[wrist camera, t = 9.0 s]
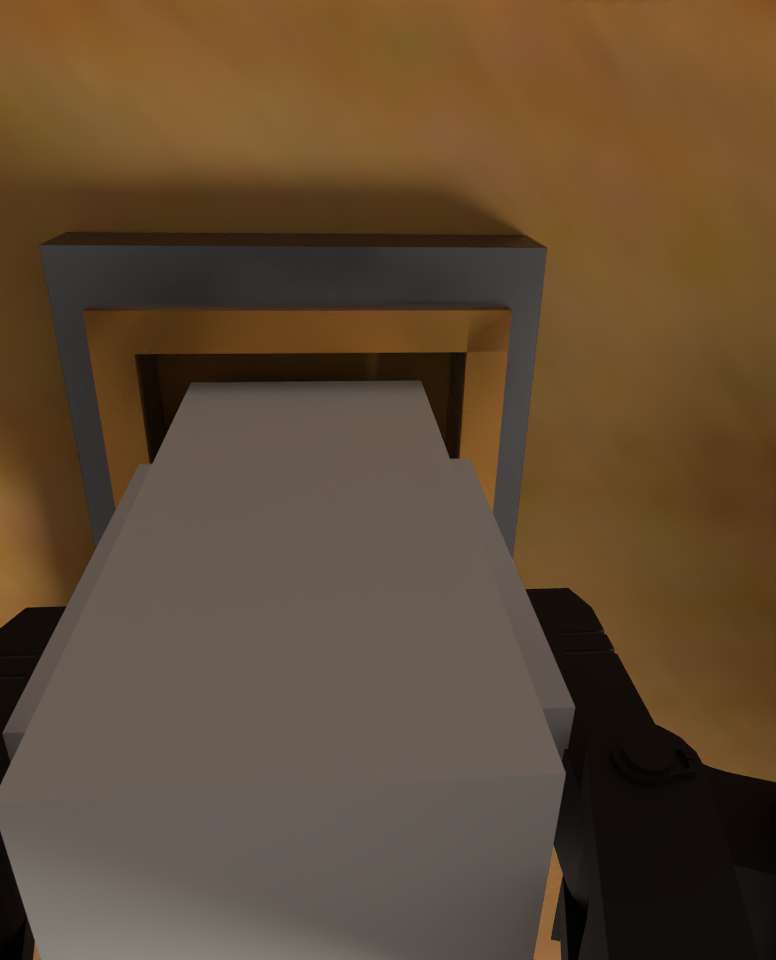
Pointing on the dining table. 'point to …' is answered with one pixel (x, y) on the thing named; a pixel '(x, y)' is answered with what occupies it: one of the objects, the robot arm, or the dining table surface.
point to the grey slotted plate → (293, 331)
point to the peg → (289, 706)
